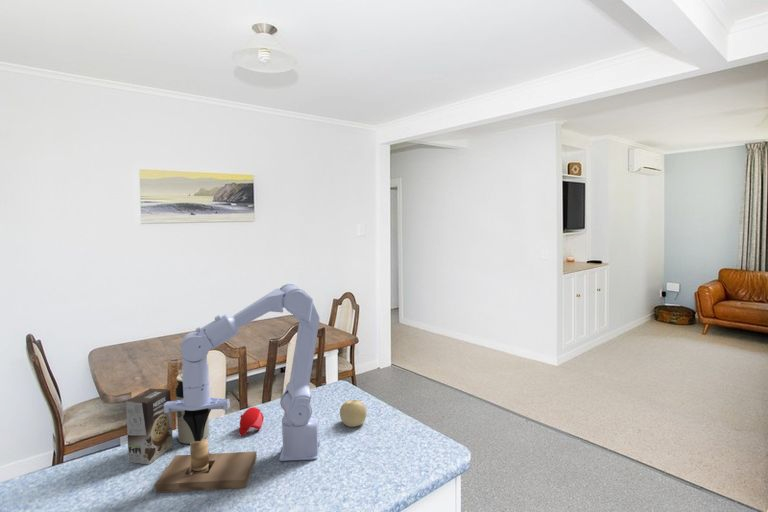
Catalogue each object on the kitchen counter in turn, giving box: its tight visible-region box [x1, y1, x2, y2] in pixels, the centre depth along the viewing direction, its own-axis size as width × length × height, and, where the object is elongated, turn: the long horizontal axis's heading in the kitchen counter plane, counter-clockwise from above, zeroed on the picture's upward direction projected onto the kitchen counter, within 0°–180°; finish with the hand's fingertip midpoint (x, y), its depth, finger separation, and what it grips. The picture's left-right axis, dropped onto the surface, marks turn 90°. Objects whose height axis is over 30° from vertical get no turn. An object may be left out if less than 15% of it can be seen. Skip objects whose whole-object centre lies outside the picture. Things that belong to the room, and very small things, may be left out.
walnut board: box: [154, 451, 258, 494], centre depth 105 cm, size 20×12×2 cm, turn 95°
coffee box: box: [125, 387, 174, 465], centre depth 114 cm, size 9×6×16 cm
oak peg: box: [189, 438, 210, 474], centre depth 105 cm, size 4×4×8 cm
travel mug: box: [175, 373, 210, 445], centre depth 122 cm, size 8×8×18 cm
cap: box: [238, 407, 264, 436], centre depth 127 cm, size 8×6×6 cm
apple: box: [339, 399, 368, 428], centre depth 130 cm, size 8×8×8 cm
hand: (199, 439), depth 104 cm, fingers closed
